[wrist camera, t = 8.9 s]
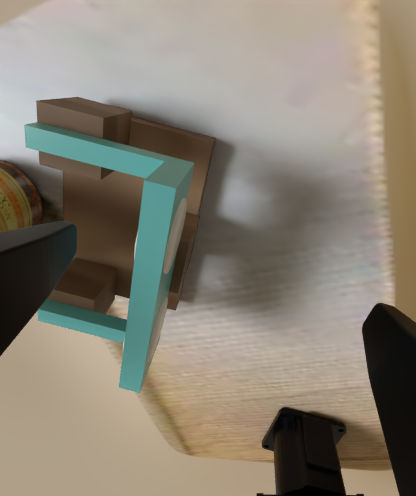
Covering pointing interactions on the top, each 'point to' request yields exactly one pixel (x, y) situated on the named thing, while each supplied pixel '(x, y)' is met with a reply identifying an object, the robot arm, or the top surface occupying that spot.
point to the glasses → (146, 247)
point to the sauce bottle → (17, 199)
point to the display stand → (116, 200)
